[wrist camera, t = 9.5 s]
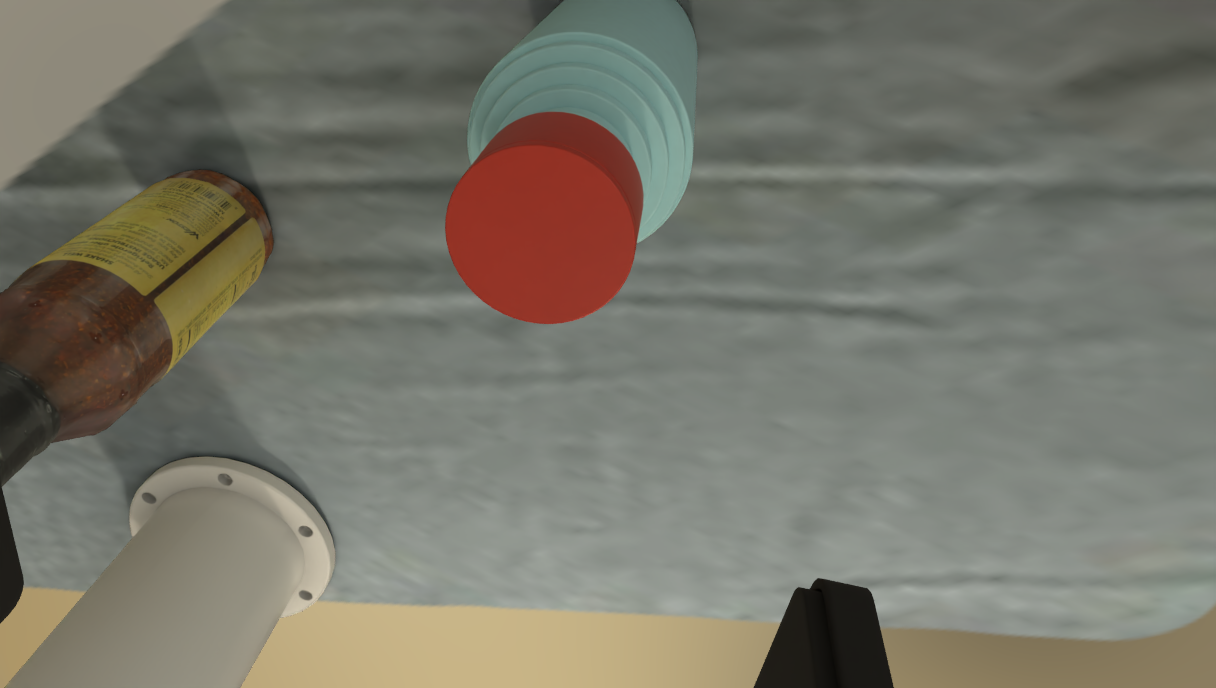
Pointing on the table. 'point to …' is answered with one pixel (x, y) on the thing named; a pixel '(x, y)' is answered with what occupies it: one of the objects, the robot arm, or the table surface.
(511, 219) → the cap
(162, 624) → the robot arm
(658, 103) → the water bottle
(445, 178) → the table surface
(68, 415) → the sauce bottle
